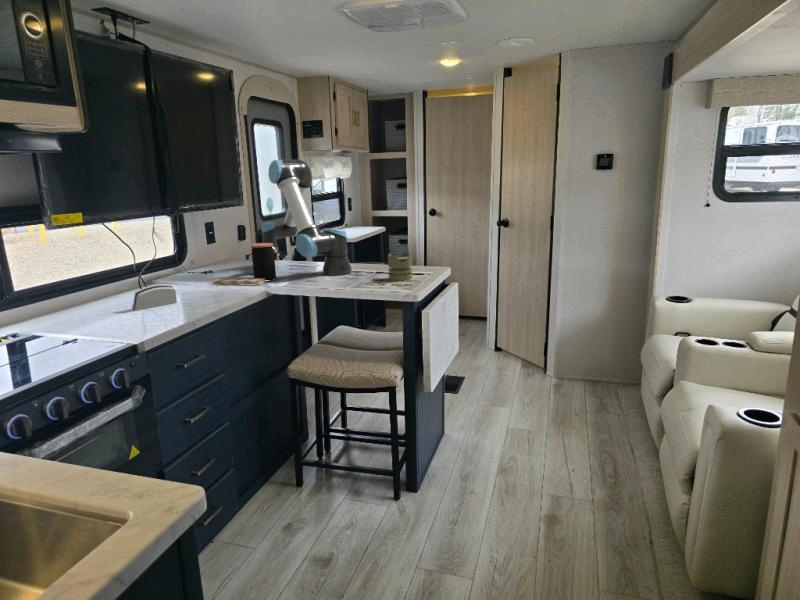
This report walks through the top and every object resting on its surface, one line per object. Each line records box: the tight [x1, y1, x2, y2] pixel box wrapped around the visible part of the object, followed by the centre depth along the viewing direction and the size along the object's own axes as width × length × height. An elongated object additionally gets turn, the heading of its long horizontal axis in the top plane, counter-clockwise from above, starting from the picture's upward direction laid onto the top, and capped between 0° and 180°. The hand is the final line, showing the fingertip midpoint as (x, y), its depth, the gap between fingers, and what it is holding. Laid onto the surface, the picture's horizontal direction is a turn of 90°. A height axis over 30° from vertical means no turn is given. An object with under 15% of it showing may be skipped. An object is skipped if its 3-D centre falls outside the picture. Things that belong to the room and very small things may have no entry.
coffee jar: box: [250, 242, 277, 281], centre depth 263 cm, size 11×11×18 cm
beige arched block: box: [131, 284, 178, 312], centre depth 215 cm, size 17×5×10 cm, turn 136°
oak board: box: [212, 277, 266, 286], centre depth 257 cm, size 24×7×2 cm, turn 77°
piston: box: [387, 252, 413, 282], centre depth 254 cm, size 11×12×11 cm
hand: (263, 258), depth 267 cm, fingers open, 13 cm apart
